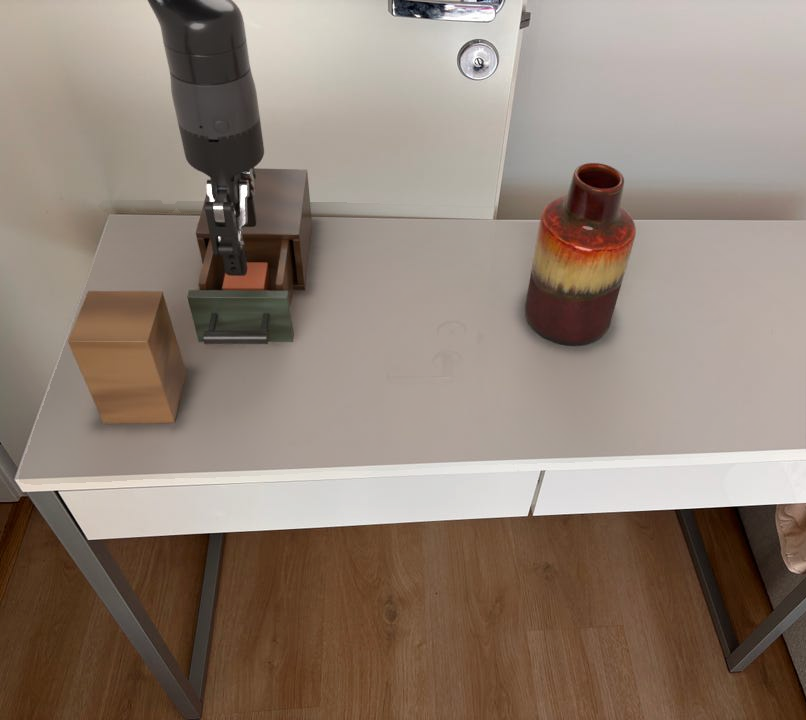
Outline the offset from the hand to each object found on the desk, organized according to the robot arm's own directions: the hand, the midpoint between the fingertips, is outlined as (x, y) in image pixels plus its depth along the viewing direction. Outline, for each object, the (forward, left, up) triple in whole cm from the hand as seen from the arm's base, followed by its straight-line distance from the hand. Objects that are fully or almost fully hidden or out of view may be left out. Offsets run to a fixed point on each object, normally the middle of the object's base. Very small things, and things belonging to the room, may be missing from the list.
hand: (242, 248), depth 83 cm
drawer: (-1, -2, -9) cm, 9 cm away
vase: (+33, -19, -10) cm, 40 cm away
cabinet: (+5, +10, -10) cm, 15 cm away
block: (0, -1, -8) cm, 8 cm away
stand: (-15, -7, -10) cm, 19 cm away
